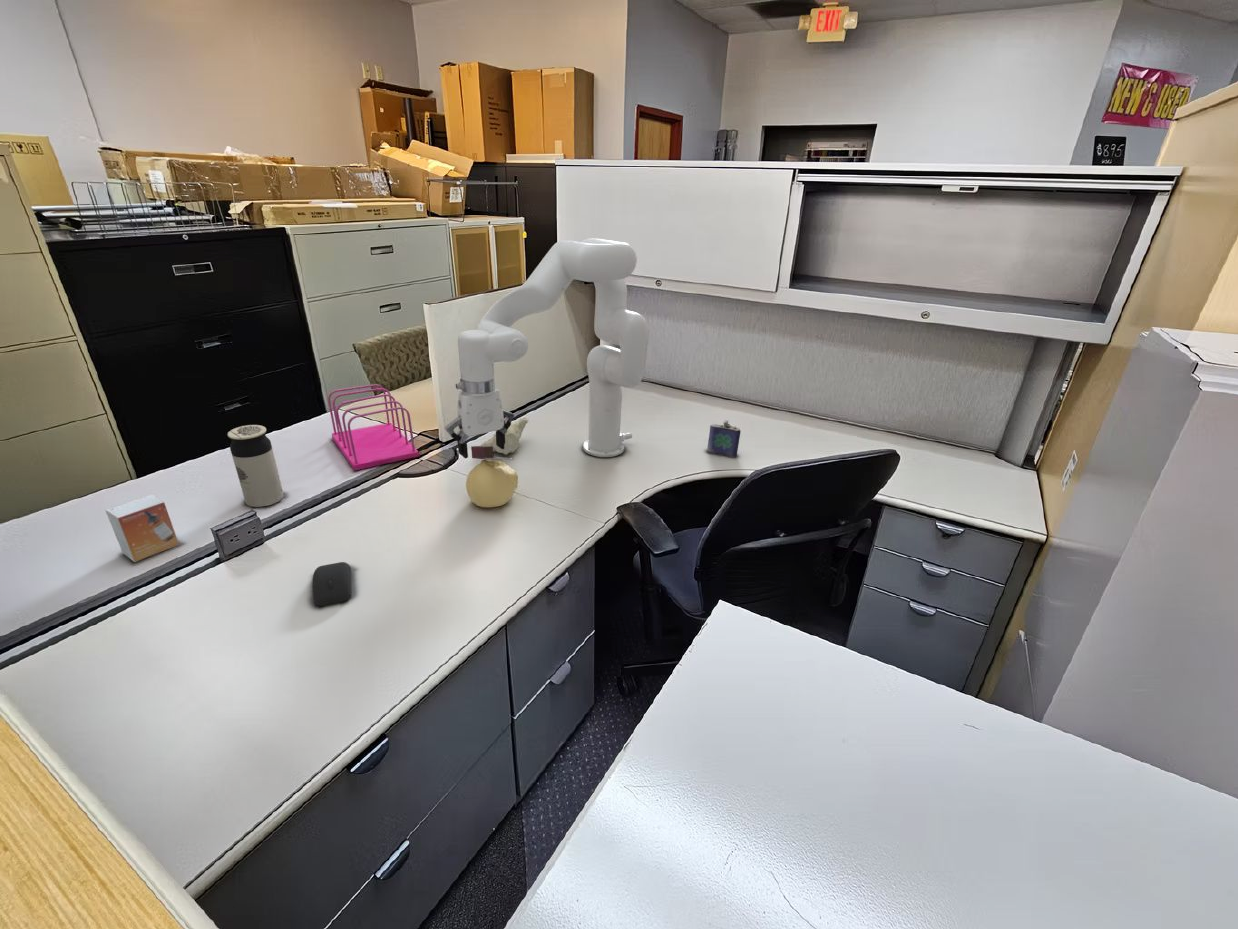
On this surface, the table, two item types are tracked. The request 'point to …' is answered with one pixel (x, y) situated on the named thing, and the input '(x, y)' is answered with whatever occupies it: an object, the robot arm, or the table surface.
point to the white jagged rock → (509, 437)
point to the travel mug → (255, 465)
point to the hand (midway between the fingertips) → (482, 451)
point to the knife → (485, 453)
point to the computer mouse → (332, 584)
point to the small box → (142, 527)
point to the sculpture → (491, 483)
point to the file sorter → (372, 434)
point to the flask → (723, 439)
